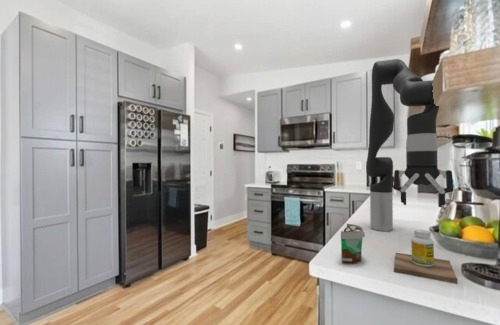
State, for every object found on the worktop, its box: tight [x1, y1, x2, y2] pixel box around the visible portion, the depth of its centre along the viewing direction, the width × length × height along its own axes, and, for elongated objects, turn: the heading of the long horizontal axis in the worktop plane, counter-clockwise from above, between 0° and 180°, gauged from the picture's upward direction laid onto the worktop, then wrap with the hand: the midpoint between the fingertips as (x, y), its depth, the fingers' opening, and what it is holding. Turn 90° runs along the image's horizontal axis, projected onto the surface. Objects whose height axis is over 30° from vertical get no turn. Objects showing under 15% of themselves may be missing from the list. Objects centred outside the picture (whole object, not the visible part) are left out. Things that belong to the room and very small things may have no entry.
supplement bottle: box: [411, 228, 435, 267], centre depth 74 cm, size 5×5×10 cm
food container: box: [340, 223, 366, 265], centre depth 81 cm, size 12×6×10 cm, turn 151°
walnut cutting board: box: [393, 252, 458, 284], centre depth 74 cm, size 14×14×1 cm
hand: (421, 205), depth 74 cm, fingers open, 8 cm apart
